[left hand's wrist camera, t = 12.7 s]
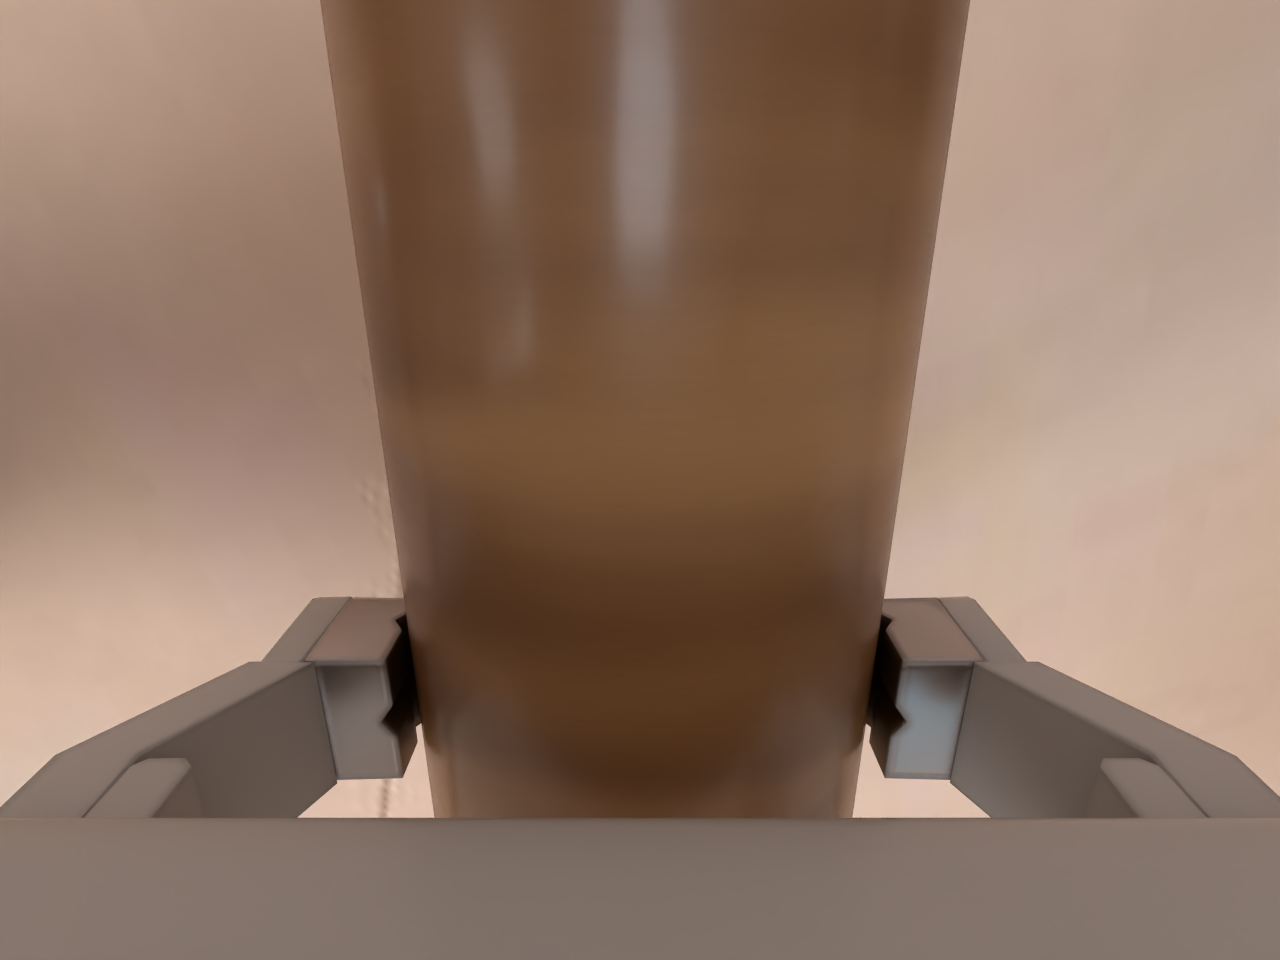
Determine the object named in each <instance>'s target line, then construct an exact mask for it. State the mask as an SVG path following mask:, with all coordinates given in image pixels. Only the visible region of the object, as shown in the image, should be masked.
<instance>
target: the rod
mask: <svg viewBox="0 0 1280 960" xmlns="http://www.w3.org/2000/svg"><path fill="white" fill-rule="evenodd" d="M320 2H321V9H322V16H323V23H324V30H325V37H326V45H327V52H328V59H329V66H330V73H331V80H332V87H333V95H334V102H335V109H336V116H337V123H338V130H339V137H340V145H341V152H342V159H343V166H344V173H345V180H346V187H347V195H348V202H349V209H350V216H351V223H352V230H353V237H354V245H355V252H356V259H357V266H358V273H359V280H360V288H361V295H362V302H363V309H364V316H365V323H366V330H367V338H368V345H369V352H370V359H371V366H372V373H373V380H374V388H375V395H376V402H377V409H378V416H379V423H380V430H381V438H382V445H383V452H384V459H385V466H386V473H387V480H388V488H389V495H390V502H391V509H392V516H393V523H394V531H395V538H396V545H397V552H398V559H399V566H400V573H401V581H402V588H403V595H404V602H405V609H406V616H407V623H408V631H409V638H410V645H411V652H412V659H413V666H414V673H415V681H416V688H417V695H418V702H419V709H420V716H421V723H422V731H423V738H424V745H425V752H426V759H427V766H428V774H429V781H430V788H431V795H432V802H433V809H434V816H435V818H852V815H853V808H854V801H855V795H856V788H857V781H858V774H859V767H860V760H861V753H862V746H863V739H864V732H865V725H866V718H867V711H868V704H869V697H870V691H871V684H872V677H873V670H874V663H875V656H876V649H877V642H878V635H879V628H880V621H881V614H882V607H883V600H884V593H885V587H886V580H887V573H888V566H889V559H890V552H891V545H892V538H893V531H894V524H895V517H896V510H897V503H898V496H899V489H900V482H901V476H902V469H903V462H904V455H905V448H906V441H907V434H908V427H909V420H910V413H911V406H912V399H913V392H914V385H915V378H916V372H917V365H918V358H919V351H920V344H921V337H922V330H923V323H924V316H925V309H926V302H927V295H928V288H929V281H930V274H931V268H932V261H933V254H934V247H935V240H936V233H937V226H938V219H939V212H940V205H941V198H942V191H943V184H944V177H945V170H946V164H947V157H948V150H949V143H950V136H951V129H952V122H953V115H954V108H955V101H956V94H957V87H958V80H959V73H960V66H961V59H962V53H963V46H964V39H965V32H966V25H967V18H968V11H969V4H970V0H320Z"/></svg>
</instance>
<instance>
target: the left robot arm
mask: <svg viewBox="0 0 1280 960" xmlns="http://www.w3.org/2000/svg"><path fill="white" fill-rule="evenodd" d="M420 723H421V716H420V709H419V702H418V695H417V688H416V681H415V673H414V666H413V659H412V652H411V645H410V638H409V631H408V623H407V616H406V609H405V602H404V598H363V597H355V598H352V597H320V598H315V599H312V600H311V601H310V603H309V604H308V605H307V606H306V607H305V609H304V610H303V611H302V612H301V614H300V615H299V616H298V617H297V618H296V620H295V621H294V622H293V623H292V625H291V626H290V627H289V628H288V629H287V631H286V632H285V633H284V634H283V635H282V637H281V638H280V639H279V640H278V642H277V643H276V644H275V645H274V646H273V648H272V649H271V650H270V651H269V653H268V654H267V655H266V656H265V657H264V659H263V660H262V661H261V662H248V663H246V664H244V665H242V666H240V667H238V668H236V669H234V670H231V671H229V672H227V673H225V674H223V675H221V676H219V677H217V678H215V679H213V680H211V681H209V682H206V683H204V684H202V685H200V686H198V687H196V688H194V689H192V690H190V691H188V692H186V693H184V694H181V695H179V696H177V697H175V698H173V699H171V700H169V701H167V702H165V703H163V704H161V705H159V706H156V707H154V708H152V709H150V710H148V711H146V712H144V713H142V714H140V715H138V716H136V717H134V718H132V719H129V720H127V721H125V722H123V723H121V724H119V725H117V726H115V727H113V728H111V729H109V730H107V731H104V732H102V733H100V734H98V735H96V736H94V737H92V738H90V739H88V740H86V741H84V742H82V743H79V744H77V745H75V746H73V747H71V748H69V749H67V750H65V751H63V752H61V753H59V754H57V755H55V756H54V757H53V758H52V759H51V760H50V761H49V762H47V763H46V764H45V765H44V766H43V767H42V768H41V769H40V770H39V771H38V772H37V773H36V774H35V775H34V776H33V777H32V778H31V779H30V780H29V781H28V782H26V783H25V784H24V785H23V786H22V787H21V788H20V789H19V790H18V791H17V792H16V793H15V794H14V795H13V796H12V797H11V798H10V799H9V800H8V801H7V802H5V803H4V804H3V805H2V806H1V807H0V960H1280V797H1279V796H1278V795H1277V794H1276V793H1275V792H1274V791H1273V790H1272V789H1271V788H1269V787H1268V786H1267V785H1266V784H1265V783H1264V782H1263V781H1262V780H1261V779H1260V778H1259V777H1258V776H1257V775H1256V774H1255V773H1254V772H1253V771H1251V770H1250V769H1249V768H1248V767H1247V766H1246V765H1245V764H1244V763H1243V762H1242V761H1241V760H1240V759H1239V758H1238V757H1237V756H1235V755H1233V754H1231V753H1228V752H1226V751H1224V750H1222V749H1220V748H1218V747H1216V746H1214V745H1212V744H1210V743H1208V742H1205V741H1203V740H1201V739H1199V738H1197V737H1195V736H1193V735H1191V734H1189V733H1187V732H1184V731H1182V730H1180V729H1178V728H1176V727H1174V726H1172V725H1170V724H1168V723H1166V722H1164V721H1161V720H1159V719H1157V718H1155V717H1153V716H1151V715H1149V714H1147V713H1145V712H1143V711H1141V710H1138V709H1136V708H1134V707H1132V706H1130V705H1128V704H1126V703H1124V702H1122V701H1120V700H1117V699H1115V698H1113V697H1111V696H1109V695H1107V694H1105V693H1103V692H1101V691H1099V690H1097V689H1094V688H1092V687H1090V686H1088V685H1086V684H1084V683H1082V682H1080V681H1078V680H1076V679H1073V678H1071V677H1069V676H1067V675H1065V674H1063V673H1061V672H1059V671H1057V670H1055V669H1053V668H1050V667H1048V666H1046V665H1044V664H1042V663H1040V662H1027V661H1026V660H1025V659H1024V658H1023V656H1022V655H1021V654H1020V653H1019V652H1018V650H1017V649H1016V648H1015V647H1014V646H1013V644H1012V643H1011V642H1010V641H1009V640H1008V639H1007V637H1006V636H1005V635H1004V634H1003V633H1002V631H1001V630H1000V629H999V628H998V627H997V625H996V624H995V623H994V622H993V621H992V620H991V618H990V617H989V616H988V615H987V614H986V612H985V611H984V610H983V609H982V608H981V606H980V605H979V604H978V603H977V602H976V600H974V599H972V598H970V597H943V598H900V599H884V600H883V607H882V614H881V621H880V628H879V635H878V642H877V649H876V656H875V663H874V670H873V677H872V684H871V691H870V697H869V704H868V711H867V718H866V724H868V725H869V726H870V727H871V734H870V741H869V742H870V744H871V747H872V749H873V751H874V754H875V756H876V758H877V761H878V763H879V765H880V768H881V770H882V772H883V775H884V777H885V778H903V779H939V780H950V783H951V784H952V785H953V786H955V787H956V788H957V789H958V790H959V791H960V792H962V793H963V794H964V795H965V796H966V797H968V798H969V799H970V800H971V801H972V802H973V803H975V804H976V805H977V806H978V807H979V808H980V809H982V810H983V811H984V812H985V813H986V814H988V815H989V816H990V817H991V818H297V817H298V816H299V815H301V814H302V813H303V812H304V811H305V810H306V809H308V808H309V807H310V806H311V805H312V804H313V803H315V802H316V801H317V800H318V799H319V798H320V797H322V796H323V795H324V794H325V793H326V792H327V791H329V790H330V789H331V788H332V787H333V786H334V785H336V784H337V780H348V779H383V778H403V776H404V773H405V771H406V768H407V766H408V764H409V761H410V759H411V756H412V754H413V752H414V749H415V747H416V744H417V734H416V726H418V725H419V724H420Z"/></svg>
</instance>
